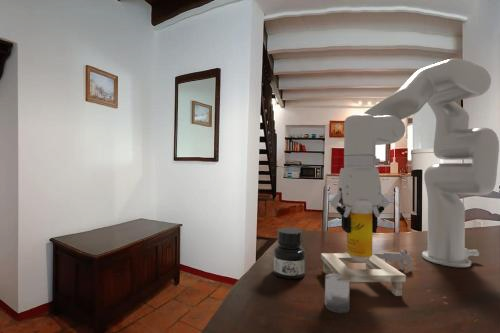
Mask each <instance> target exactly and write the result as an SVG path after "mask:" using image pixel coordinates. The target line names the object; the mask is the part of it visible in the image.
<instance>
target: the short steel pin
mask: <svg viewBox="0 0 500 333" xmlns="http://www.w3.org/2000/svg"><path fill="white" fill-rule="evenodd" d="M350 283H351V282H350V280H349V278H347V277H346V276H344V275H341V274H334V273H330V274H325V275H324V307H325V308H326V309H327V310H329V311H330V312H332V313H338V314H346V313H348V312H349V311H350Z"/></svg>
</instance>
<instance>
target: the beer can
mask: <svg viewBox="0 0 500 333" xmlns="http://www.w3.org/2000/svg"><path fill="white" fill-rule="evenodd" d="M349 217H350V218H351V232H350V233H347V232H346V252H347V253H348V254H349V256H350V257H352V258H355V259H359V260H367V259H370V257H371V256H372V253H373V232H372V204H371V202H370V201H369V200H358V201H357V202H356V203H355V204H354V206H352V207H351V211H350V213H349Z"/></svg>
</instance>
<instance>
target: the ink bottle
mask: <svg viewBox="0 0 500 333" xmlns="http://www.w3.org/2000/svg"><path fill="white" fill-rule="evenodd" d="M302 243H303V232H302V230H301V229H299V228H293V227H282V228H279V229H277V245H276V247H274V249H273V273H274V274H275V275H276V276H277V277H280V278H281V279H288V280H289V279H290V280H298V279H301V278H304V276H305V274H306V258H307V257H306V249H305V248H304V247H302Z"/></svg>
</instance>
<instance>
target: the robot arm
mask: <svg viewBox="0 0 500 333" xmlns="http://www.w3.org/2000/svg"><path fill="white" fill-rule="evenodd" d="M491 80H492V78H491V75H490V73H489V71H488V70H487V69H486V68H485V67H483V66H481V65H478V64H476V63H473V62H471V61H469V60H466V59H461V58H450V59H449V58H448V59H446V60H443V61H440V62H437V63H435V64H431V65H428V66H425V67H423V68H420V69H418V70H417V71H415V72H414V73H413V74H412V75H410V77H409V78H408V79H407V80H406V81H405V82H403V84H402V85H401V86H400V87H399V88H398V89H397V90H396V91H395V92H393V94H391V95H389V96H387V97H386V98H384V99H383V100H381V101H380V102H378V103H376V104H375V105H373V106H372V107H370V108H368V109H367V110H366V111H364V112H363V113H359V114H354V115H349V116H347V117H346V118H345V120H344V122H343V124H344V125H343V128H344V129H343V135H344V136H343V139H344V140H343V142H344V144H343V145H344V146H343V150H344V151H343V155H344V156H343V166H344V167H341V168H340V170H339V176H338V183H337V193H336V194H335V195H334V196H333V197H332V198H331V199H330V200H329V202H328V203H329V204H330V206H332V207H333V209H334V210H336V211H337V213H339V214H340V216H341V228H342V230H343V231H344V232H345V233H346V234H347V233H350V232H351V218H350V217H349V213H350V211H351V207H352V206H354V204H355V203H356V202H357V201H358V200H369V201H370V202H371V204H372V234H374V233H375V234H377V230H378V218H379V217H380V216H381V214H382V213H383V211H385V209H386V208H387V207H388V206H389V205H390V201H389V200H388V199H387V197H385V196H384V195H383V193H382V184H381V176H380V172H379V168H377V167H376V166H377V165H378V164H380V163H381V159H380V158H377V156H376V147H377V146H381V145H390V144H395V143H398V142H399V141H400V140H402V139H403V137H404V135H405V134H406V133H405V132H406V126H405V123H404V121H403V120H404V119H406V118H410V117H411V116H413V115H415V114H417V113H418V112H419V111H421V109H422V108H424V106H425V105H426V104H428V106H429V107H430V109H431V111H432V112H433V113H434V114H433V115H434V117H435V132H434V139H433V140H434V141H433V155H434V156H435V157H436V158H437V159H440V160H444V161H445V160H447V161H449V160H450V161H456V160H457V161H459V160H460V161H461V160H466V161H468V160H471V161H472V162H470V163H466V162H462V163H458V162H452V163H450V162H444V163H437V164H433V165H430V166H428V167H427V168H426V169H425V170H424V177H423V178H424V180H423V181H424V184H425V185H424V186H425V189H426V195H427V250H423V251H422V252H421V256H422V258H423V259H425V260H427V261H428V262H431V263H433V264H438V265H441V266H444V267H445V266H447V267H453V268H469V267H471V266H472V260H470V258H469V257H478V256H480V252H479V250H478V249H468V248H466V247H465V246H466V244H465V243H466V242H465V238H466V236H465V234H466V230H465V229H466V225H465V224H466V221H465V220H466V208H465V206H464V203H463V201H462V200H461V199H460V197H459V196H458V195H471V196H472V195H473V196H486V195H487V196H488V195H489V194H491V193H492V192H493V191H494V189H495V187H496V183H497V176H498V166H499V165H498V164H499V156H500V155H499V154H500V153H499V152H500V140H499V137H498V134H497V133H496V132H495V131H494V130H493V129H492V128H488V127H474V128H469V124H470V123H469V122H470V114H468V112H467V111H466V109H464V108H463V107H462V105H459V104H458V103H456V101H461V100H467V99H471V98H476V97H480V96H482V95H484V94H486V93H487V92H488V90H489V89H490V87H491V85H492V84H491V83H492V81H491ZM339 204H340V205H342V206H340V205H339Z"/></svg>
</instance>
